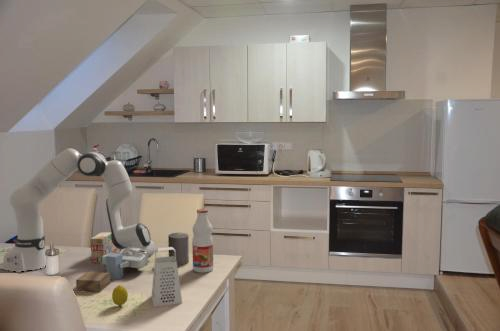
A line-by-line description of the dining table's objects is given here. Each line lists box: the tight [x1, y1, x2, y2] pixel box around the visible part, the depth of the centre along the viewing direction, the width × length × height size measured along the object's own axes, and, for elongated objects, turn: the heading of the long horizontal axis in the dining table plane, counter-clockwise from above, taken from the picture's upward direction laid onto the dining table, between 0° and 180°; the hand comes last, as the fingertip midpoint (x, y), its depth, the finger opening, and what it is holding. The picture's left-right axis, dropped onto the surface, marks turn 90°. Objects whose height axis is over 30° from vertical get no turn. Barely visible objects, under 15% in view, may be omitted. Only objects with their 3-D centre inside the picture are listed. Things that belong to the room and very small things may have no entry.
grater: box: [151, 246, 183, 307], centre depth 178 cm, size 10×10×20 cm
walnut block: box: [75, 271, 111, 293], centre depth 193 cm, size 10×10×5 cm
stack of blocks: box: [90, 231, 122, 264], centre depth 236 cm, size 21×6×12 cm, turn 173°
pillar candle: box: [167, 232, 190, 267], centre depth 225 cm, size 10×10×15 cm
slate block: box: [105, 252, 124, 281], centre depth 205 cm, size 5×5×10 cm
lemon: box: [111, 284, 129, 307], centre depth 173 cm, size 6×6×8 cm
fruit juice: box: [191, 208, 214, 274], centre depth 213 cm, size 9×9×28 cm
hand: (113, 265), depth 204 cm, fingers closed on slate block, 5 cm apart
